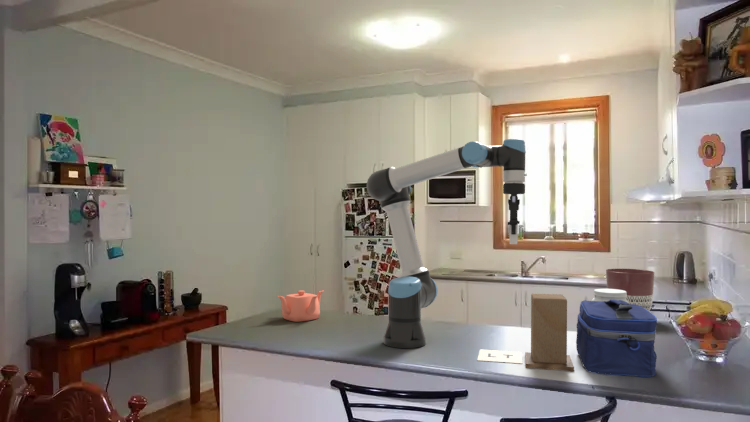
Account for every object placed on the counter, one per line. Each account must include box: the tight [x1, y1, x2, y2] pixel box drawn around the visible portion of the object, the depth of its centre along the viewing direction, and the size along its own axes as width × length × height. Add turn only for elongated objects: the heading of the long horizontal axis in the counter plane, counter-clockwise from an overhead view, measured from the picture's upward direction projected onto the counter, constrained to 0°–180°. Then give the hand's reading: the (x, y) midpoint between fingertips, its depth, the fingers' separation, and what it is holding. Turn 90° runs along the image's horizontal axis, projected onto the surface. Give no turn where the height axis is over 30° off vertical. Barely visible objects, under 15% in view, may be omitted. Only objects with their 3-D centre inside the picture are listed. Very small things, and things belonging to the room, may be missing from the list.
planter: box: [605, 268, 655, 312], centre depth 244 cm, size 20×20×21 cm
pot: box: [277, 289, 325, 323], centre depth 242 cm, size 18×17×12 cm
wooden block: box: [530, 293, 568, 364], centre depth 174 cm, size 10×10×20 cm
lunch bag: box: [575, 299, 658, 378], centre depth 173 cm, size 31×21×20 cm
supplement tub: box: [591, 288, 629, 303], centre depth 206 cm, size 13×13×18 cm
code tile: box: [477, 348, 523, 365], centre depth 182 cm, size 14×14×1 cm
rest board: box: [524, 351, 575, 372], centre depth 174 cm, size 14×14×1 cm
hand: (513, 243), depth 195 cm, fingers open, 13 cm apart
